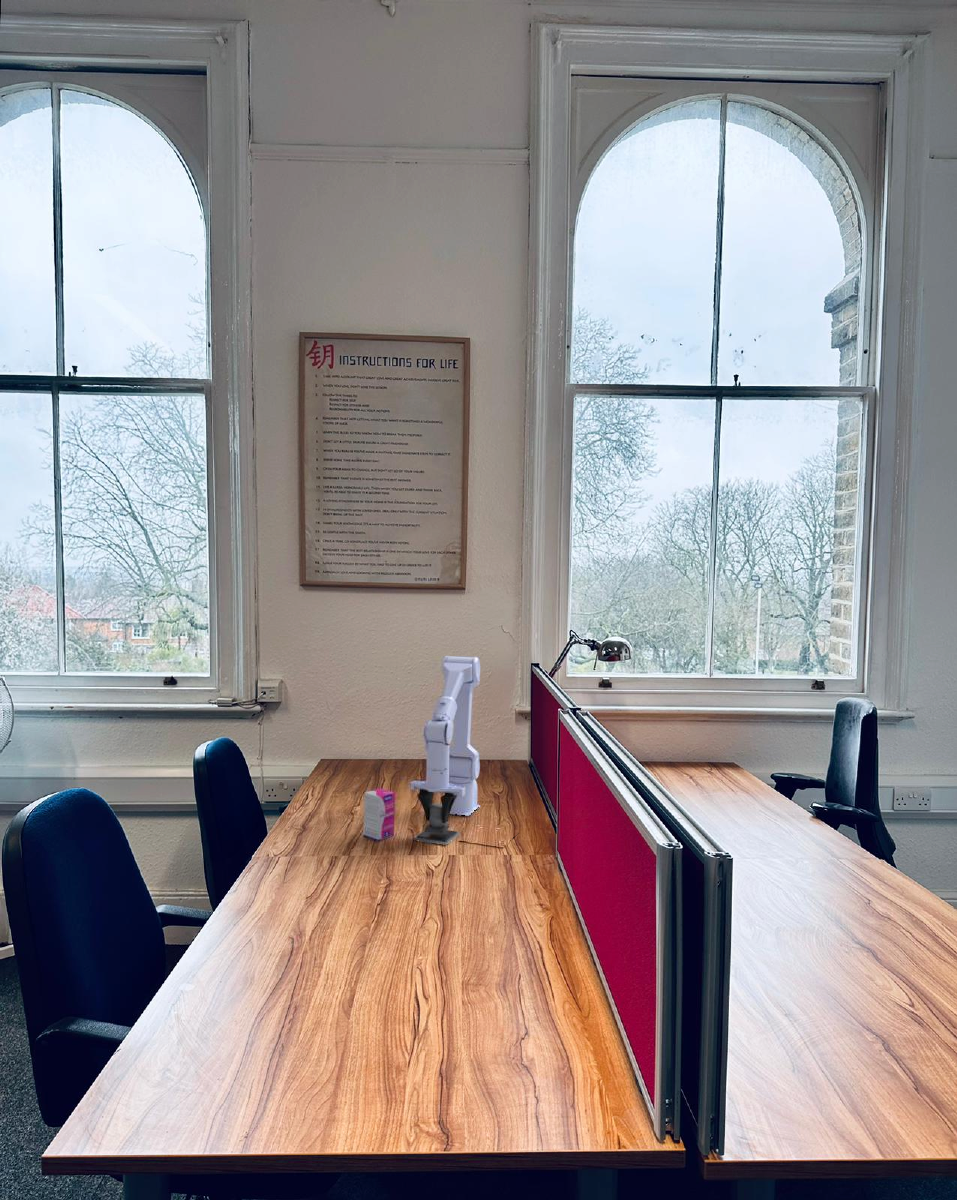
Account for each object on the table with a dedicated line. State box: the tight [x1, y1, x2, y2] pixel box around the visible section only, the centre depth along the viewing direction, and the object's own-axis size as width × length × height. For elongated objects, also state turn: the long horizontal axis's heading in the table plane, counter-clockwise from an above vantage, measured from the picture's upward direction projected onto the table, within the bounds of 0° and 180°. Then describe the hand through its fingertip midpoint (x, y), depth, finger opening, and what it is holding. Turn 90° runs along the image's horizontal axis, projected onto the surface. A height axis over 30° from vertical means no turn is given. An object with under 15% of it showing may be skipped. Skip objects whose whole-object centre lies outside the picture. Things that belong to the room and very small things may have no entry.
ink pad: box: [413, 829, 460, 846], centre depth 191 cm, size 8×9×1 cm
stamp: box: [424, 803, 451, 834], centre depth 190 cm, size 5×5×6 cm
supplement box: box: [362, 787, 396, 842], centre depth 191 cm, size 6×6×12 cm
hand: (437, 820), depth 190 cm, fingers closed on stamp, 4 cm apart
